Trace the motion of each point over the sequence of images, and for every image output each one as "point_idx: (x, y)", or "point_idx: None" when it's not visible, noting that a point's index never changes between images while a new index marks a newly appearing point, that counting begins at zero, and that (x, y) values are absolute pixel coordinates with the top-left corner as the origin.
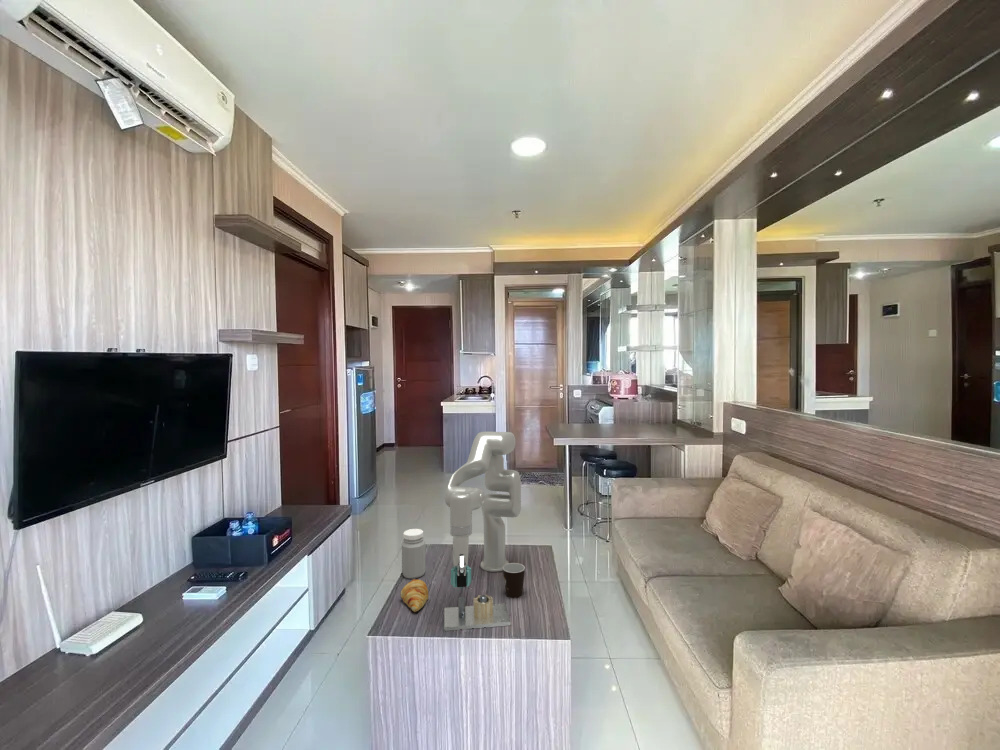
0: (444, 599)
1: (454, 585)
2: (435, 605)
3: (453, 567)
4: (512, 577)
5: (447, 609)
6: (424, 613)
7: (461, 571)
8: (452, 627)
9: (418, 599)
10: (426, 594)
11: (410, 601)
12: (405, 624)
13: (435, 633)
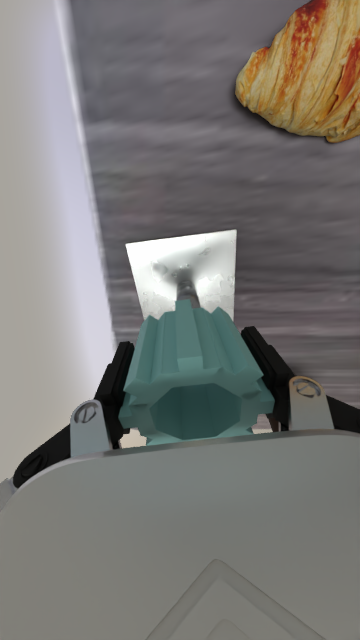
0: (309, 219)
1: (142, 326)
2: (278, 187)
3: (226, 371)
4: (276, 427)
5: (225, 242)
6: (232, 145)
7: (7, 488)
8: (132, 268)
9: (293, 78)
10: (345, 125)
11: (295, 15)
12: (157, 52)
13: (112, 215)
